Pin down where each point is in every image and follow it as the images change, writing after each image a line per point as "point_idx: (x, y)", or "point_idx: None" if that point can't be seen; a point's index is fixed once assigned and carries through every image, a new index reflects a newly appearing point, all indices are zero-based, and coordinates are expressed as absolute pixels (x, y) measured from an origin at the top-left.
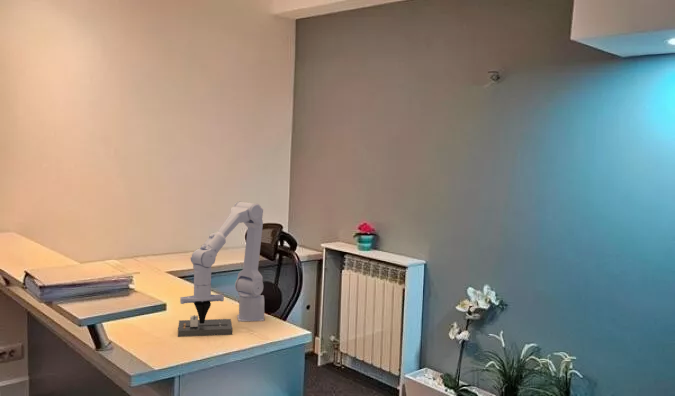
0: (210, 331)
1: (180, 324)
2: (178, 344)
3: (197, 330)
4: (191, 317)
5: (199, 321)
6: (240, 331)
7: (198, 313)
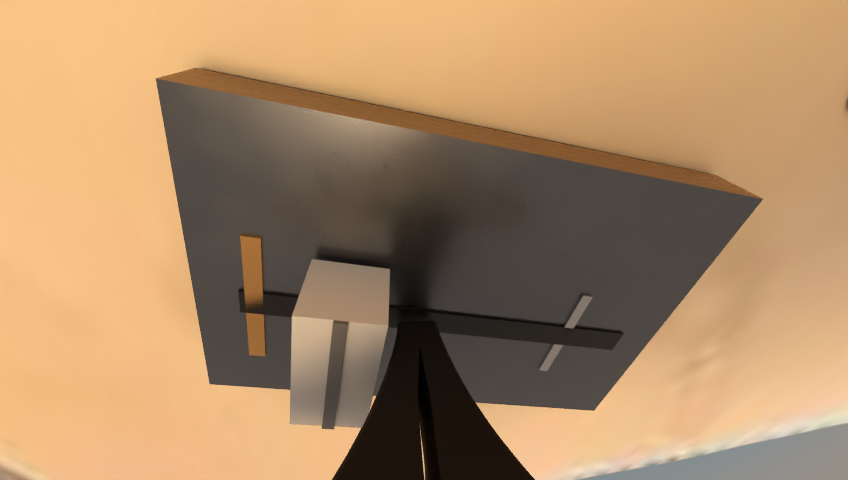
0: None
1: (205, 248)
2: (248, 428)
3: None
4: (303, 373)
5: (397, 329)
6: (660, 328)
7: (385, 398)
